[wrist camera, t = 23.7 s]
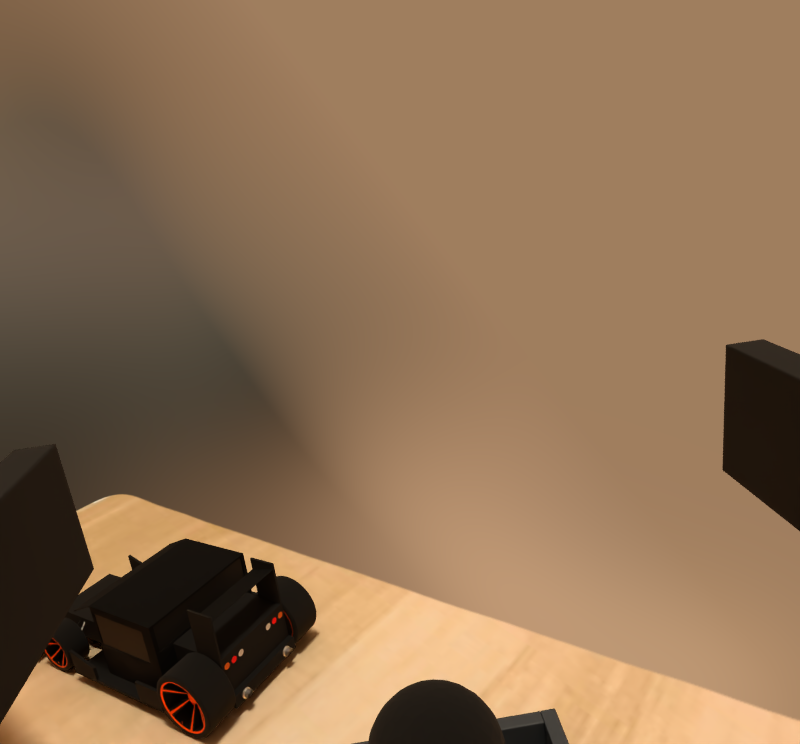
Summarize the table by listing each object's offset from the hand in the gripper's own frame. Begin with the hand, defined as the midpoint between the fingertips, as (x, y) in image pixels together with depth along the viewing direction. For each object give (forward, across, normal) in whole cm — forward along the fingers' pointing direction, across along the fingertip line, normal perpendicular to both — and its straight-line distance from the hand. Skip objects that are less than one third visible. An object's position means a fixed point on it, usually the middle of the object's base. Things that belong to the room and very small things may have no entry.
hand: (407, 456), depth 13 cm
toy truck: (+30, -18, -26) cm, 43 cm away
